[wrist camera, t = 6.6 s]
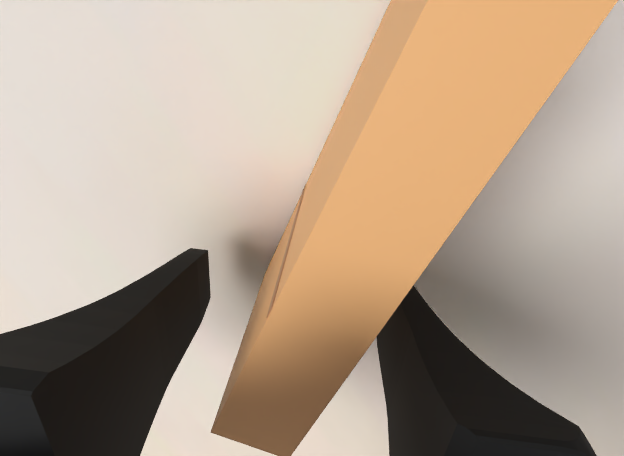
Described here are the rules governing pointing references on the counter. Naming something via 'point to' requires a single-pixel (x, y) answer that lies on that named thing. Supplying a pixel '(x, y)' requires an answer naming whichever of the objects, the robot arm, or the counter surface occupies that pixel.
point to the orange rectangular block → (392, 193)
